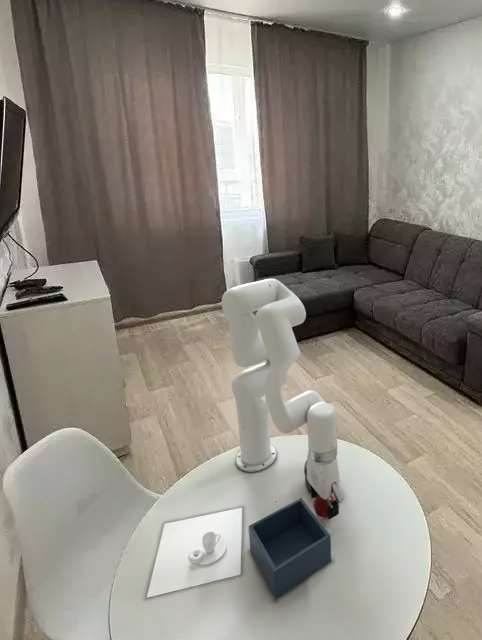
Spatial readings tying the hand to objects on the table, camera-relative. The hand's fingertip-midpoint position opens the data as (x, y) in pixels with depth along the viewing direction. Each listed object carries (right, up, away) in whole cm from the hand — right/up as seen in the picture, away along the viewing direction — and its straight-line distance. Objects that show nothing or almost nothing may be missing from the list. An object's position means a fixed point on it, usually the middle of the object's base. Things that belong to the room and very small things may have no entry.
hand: (324, 505), depth 112 cm
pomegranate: (0, -4, +1) cm, 4 cm away
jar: (-2, -1, +12) cm, 12 cm away
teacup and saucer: (-31, -6, -8) cm, 32 cm away
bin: (-7, -6, -11) cm, 14 cm away
